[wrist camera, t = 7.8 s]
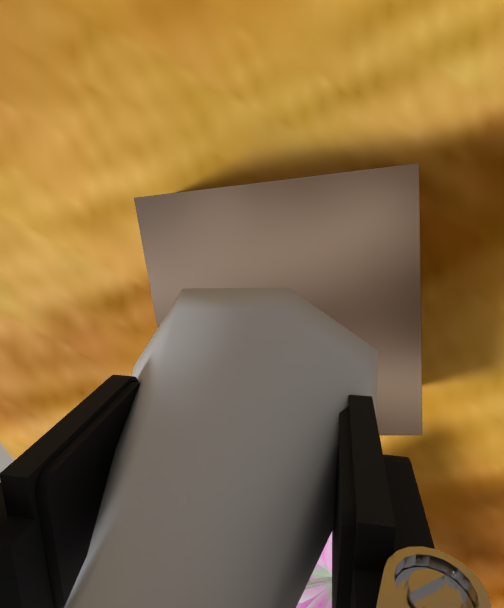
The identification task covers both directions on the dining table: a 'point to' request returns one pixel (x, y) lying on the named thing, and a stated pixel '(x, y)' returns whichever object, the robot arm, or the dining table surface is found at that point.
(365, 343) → the flask
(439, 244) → the dining table surface
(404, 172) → the walnut block
